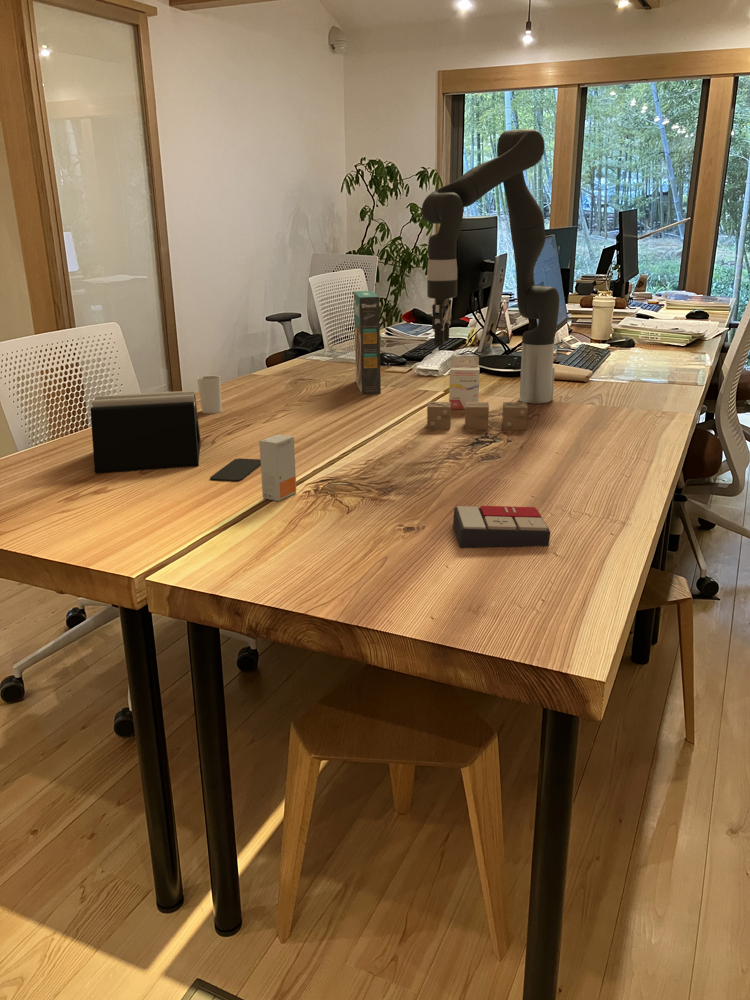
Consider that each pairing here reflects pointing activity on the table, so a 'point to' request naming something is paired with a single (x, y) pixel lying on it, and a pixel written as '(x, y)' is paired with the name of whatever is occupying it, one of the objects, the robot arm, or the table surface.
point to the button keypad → (499, 527)
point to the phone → (236, 470)
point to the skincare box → (278, 467)
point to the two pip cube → (514, 416)
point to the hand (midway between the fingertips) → (441, 343)
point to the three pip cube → (438, 415)
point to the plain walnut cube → (476, 415)
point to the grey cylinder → (210, 393)
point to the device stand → (145, 431)
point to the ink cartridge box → (464, 381)
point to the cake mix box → (367, 342)
